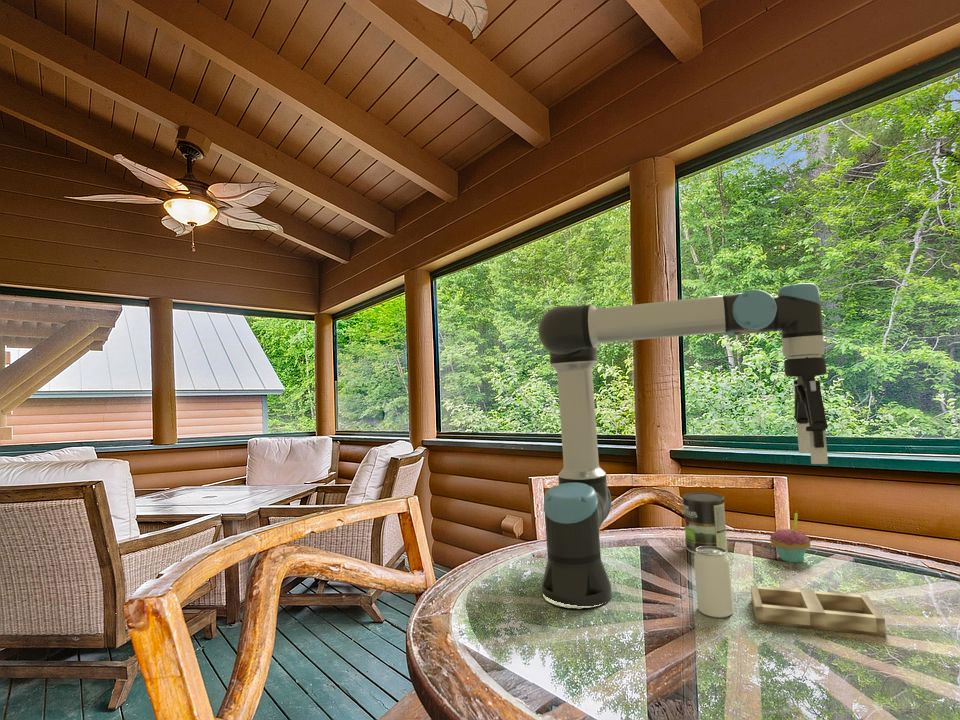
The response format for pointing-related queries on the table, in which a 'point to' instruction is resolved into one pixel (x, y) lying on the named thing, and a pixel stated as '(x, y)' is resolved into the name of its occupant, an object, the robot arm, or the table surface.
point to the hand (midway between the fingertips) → (812, 458)
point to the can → (713, 582)
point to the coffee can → (704, 520)
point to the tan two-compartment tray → (817, 610)
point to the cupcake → (791, 543)
